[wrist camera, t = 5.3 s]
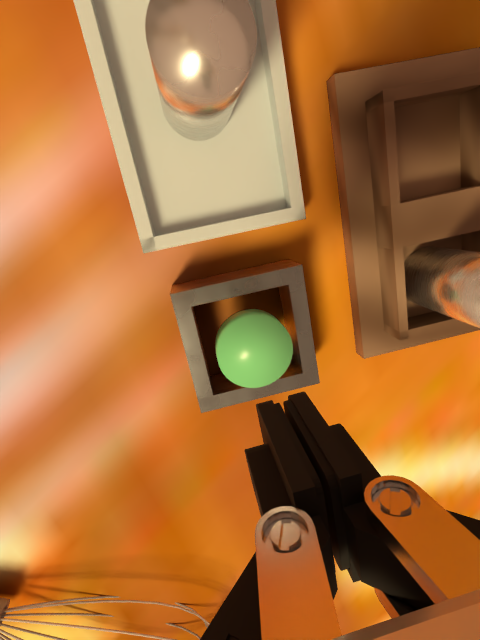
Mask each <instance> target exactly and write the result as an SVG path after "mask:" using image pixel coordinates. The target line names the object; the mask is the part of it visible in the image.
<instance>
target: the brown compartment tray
mask: <svg viewBox="0 0 480 640" xmlns="http://www.w3.org/2000/svg"><path fill="white" fill-rule="evenodd" d="M327 90H328V99H329V108H330V117H331V126H332V135H333V144H334V153H335V162H336V171H337V180H338V189H339V199H340V208H341V217H342V226H343V235H344V244H345V253H346V262H347V271H348V280H349V289H350V298H351V307H352V316H353V325H354V335H355V344H356V353H357V354H359V355H360V356H361V357H362V358H364V359H365V358H369V357H373V356H377V355H381V354H385V353H389V352H393V351H397V350H401V349H405V348H409V347H413V346H417V345H421V344H425V343H429V342H433V341H437V340H441V339H445V338H449V337H453V336H457V335H461V334H465V333H469V332H473V331H477V330H480V328H478V327H475V326H473V325H470V324H467V323H465V322H462V321H459V320H457V319H454V318H452V317H449V316H446V315H444V314H441V313H438V312H436V311H433V310H430V309H428V308H425V307H423V306H420V305H417V304H415V303H412V302H410V301H408V300H407V299H406V285H405V269H404V261H405V260H406V259H407V257H408V256H409V255H410V254H412V253H413V252H414V251H416V250H418V249H420V248H423V247H428V246H432V247H441V248H449V249H457V250H466V251H474V252H480V47H479V48H474V49H468V50H463V51H457V52H452V53H446V54H441V55H435V56H430V57H425V58H419V59H414V60H408V61H403V62H397V63H392V64H386V65H381V66H376V67H370V68H365V69H359V70H354V71H348V72H343V73H337V74H334V75H333V76H332V77H331V78H330V79H329V80H328V81H327Z"/></svg>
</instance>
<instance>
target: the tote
mask: <svg viewBox="0 0 480 640" xmlns="http://www.w3.org/2000/svg"><path fill="white" fill-rule="evenodd" d="M149 1H150V0H74V4H75V8H76V11H77V15H78V18H79V22H80V26H81V29H82V33H83V36H84V40H85V44H86V47H87V51H88V55H89V58H90V62H91V65H92V69H93V73H94V76H95V80H96V83H97V87H98V91H99V94H100V98H101V101H102V105H103V109H104V112H105V116H106V119H107V123H108V127H109V130H110V134H111V138H112V141H113V145H114V148H115V152H116V156H117V159H118V163H119V166H120V170H121V174H122V177H123V181H124V184H125V188H126V192H127V195H128V199H129V202H130V206H131V210H132V213H133V217H134V220H135V224H136V228H137V231H138V235H139V239H140V242H141V246H142V249H143V253H148V252H152V251H157V250H162V249H166V248H171V247H176V246H180V245H185V244H190V243H194V242H199V241H204V240H208V239H213V238H218V237H222V236H227V235H232V234H236V233H241V232H245V231H250V230H255V229H259V228H264V227H269V226H273V225H278V224H283V223H287V222H292V221H297V220H301V219H306V215H305V208H304V201H303V194H302V186H301V179H300V172H299V165H298V158H297V150H296V143H295V136H294V129H293V122H292V114H291V107H290V100H289V93H288V86H287V78H286V71H285V64H284V57H283V50H282V42H281V35H280V28H279V21H278V14H277V7H276V0H248V2H249V4H250V6H251V8H252V11H253V14H254V17H255V22H256V27H257V47H256V53H255V57H254V61H253V63H252V66H251V68H250V71H249V73H248V75H247V78H246V80H245V83H244V85H243V87H242V90H241V92H240V94H239V97H238V99H237V102H236V104H235V106H234V109H233V111H232V113H231V116H230V118H229V120H228V122H227V124H226V126H225V128H224V129H223V130H222V131H221V132H220V133H219V134H218V135H216V136H215V137H213V138H211V139H208V140H205V141H193V140H189V139H186V138H184V137H182V136H181V135H179V134H178V133H177V132H175V131H174V130H173V129H172V127H171V126H170V125H169V123H168V122H167V120H166V118H165V116H164V113H163V110H162V106H161V101H160V97H159V93H158V88H157V84H156V80H155V76H154V71H153V67H152V63H151V58H150V54H149V50H148V45H147V40H146V33H145V20H146V13H147V8H148V5H149Z"/></svg>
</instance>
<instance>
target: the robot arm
mask: <svg viewBox="0 0 480 640" xmlns="http://www.w3.org/2000/svg"><path fill="white" fill-rule="evenodd" d="M256 408H257V413H258V418H259V422H260V427H261V432H262V437H263V442H264V444H263V445H260V446H256V447H252V448H249V449H245V454H246V459H247V463H248V467H249V472H250V476H251V480H252V484H253V488H254V491H255V495H256V499H257V503H258V506H259V510H260V514H261V519H260V520H259V522H258V524H257V526H256V530H255V544H256V552H255V554H254V555H253V557H252V559H251V560H250V562H249V563H248V565H247V566H246V568H245V570H244V571H243V573H242V574H241V576H240V578H239V579H238V581H237V582H236V584H235V585H234V587H233V589H232V590H231V592H230V593H229V595H228V596H227V598H226V600H225V601H224V603H223V604H222V606H221V607H220V609H219V611H218V612H217V614H216V615H215V617H214V618H213V620H212V622H211V623H210V625H209V626H208V628H207V629H206V631H205V633H204V634H203V636H202V637H201V639H200V640H480V520H477V519H473V518H470V517H467V516H464V515H460V514H457V513H454V512H451V511H448V510H445V509H444V508H443V507H442V506H441V505H440V504H438V503H437V502H436V501H435V500H434V499H433V498H432V497H431V496H429V495H428V494H427V493H426V492H425V491H424V490H423V489H421V488H420V487H419V486H418V485H416V484H415V483H414V482H412V481H410V480H408V479H405V478H403V477H398V476H382V477H381V476H380V474H379V473H378V472H377V470H376V469H375V468H374V466H373V465H372V464H371V462H370V461H369V460H368V459H367V457H366V456H365V455H364V453H363V452H362V451H361V449H360V448H359V447H358V445H357V444H356V443H355V442H354V440H353V439H352V438H351V436H350V435H349V434H348V432H347V431H346V430H345V428H344V427H343V426H342V425H341V424H335V425H332V426H328V424H327V423H326V421H325V420H324V419H323V417H322V416H321V414H320V413H319V411H318V410H317V409H316V407H315V406H314V404H313V403H312V401H311V400H310V399H309V397H308V396H307V394H306V393H305V392H301V393H297V394H293V395H289V396H288V401H284V410H285V413H284V411H283V409H282V407H281V405H280V403H276V404H274V403H273V401H272V400H270V401H267V402H263V403H259V404H256ZM333 555H334V557H333ZM334 558H335V560H336V562H337V564H338V566H339V568H340V570H341V571H342V570H345V569H347V570H348V572H349V574H350V576H351V578H352V580H353V582H356V581H359V580H361V581H362V582H364V583H366V584H368V585H370V586H372V587H374V589H375V593H376V595H377V597H378V599H379V601H380V602H381V604H382V605H383V607H384V608H385V609H386V611H387V612H388V614H389V615H390V617H391V618H392V619H390V620H387V621H384V622H381V623H378V624H375V625H372V626H369V627H366V628H363V629H360V630H358V631H355V632H352V633H349V634H346V635H343V636H342V634H341V630H340V626H339V622H338V618H337V614H336V610H335V606H334V602H333V600H334V597H335V595H336V592H337V590H338V588H337V582H336V575H335V572H336V571H335V564H334Z"/></svg>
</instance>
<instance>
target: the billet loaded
mask: <svg viewBox="0 0 480 640" xmlns="http://www.w3.org/2000/svg"><path fill="white" fill-rule="evenodd" d="M404 269H405V285H406V299H407V300H408V301H410V302H412V303H415V304H417V305H420V306H423V307H425V308H428V309H430V310H433V311H436V312H438V313H441V314H444V315H446V316H449V317H452V318H454V319H457V320H459V321H462V322H465V323H467V324H470V325H473V326H475V327H478V328H480V252H474V251H466V250H457V249H449V248H441V247H432V246H428V247H423V248H420V249H418V250H416V251H414V252H413V253H412V254H410V255H409V256H408V257H407V259H406V260H405V261H404Z"/></svg>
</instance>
